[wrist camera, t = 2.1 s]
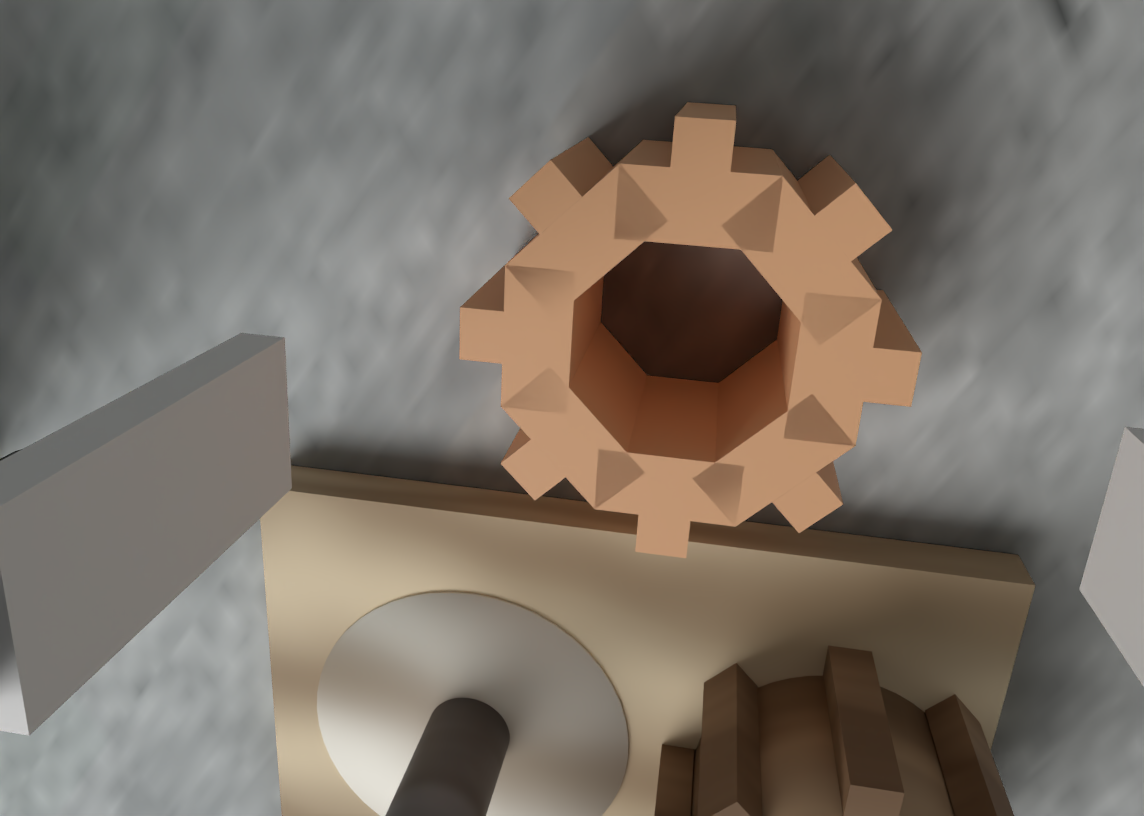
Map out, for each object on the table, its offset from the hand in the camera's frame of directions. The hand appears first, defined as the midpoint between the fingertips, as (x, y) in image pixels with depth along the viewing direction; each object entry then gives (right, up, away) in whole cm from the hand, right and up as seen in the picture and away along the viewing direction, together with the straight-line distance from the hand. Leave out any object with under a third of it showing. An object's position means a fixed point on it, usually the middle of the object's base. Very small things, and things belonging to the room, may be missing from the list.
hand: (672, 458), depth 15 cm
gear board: (0, -8, +13) cm, 16 cm away
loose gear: (+1, +4, +8) cm, 9 cm away
